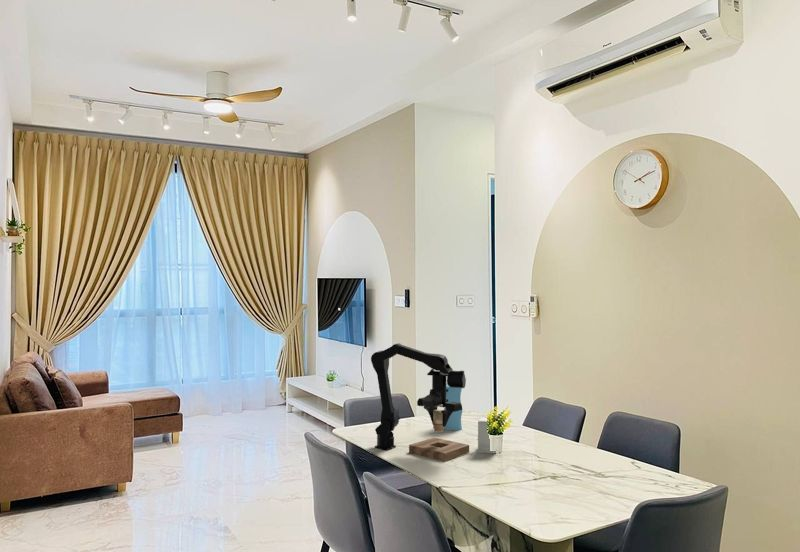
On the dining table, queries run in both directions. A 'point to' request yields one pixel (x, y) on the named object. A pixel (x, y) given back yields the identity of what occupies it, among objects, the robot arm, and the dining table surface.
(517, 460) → the dining table surface
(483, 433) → the supplement box
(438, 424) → the beech peg
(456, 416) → the vase
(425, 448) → the walnut board
